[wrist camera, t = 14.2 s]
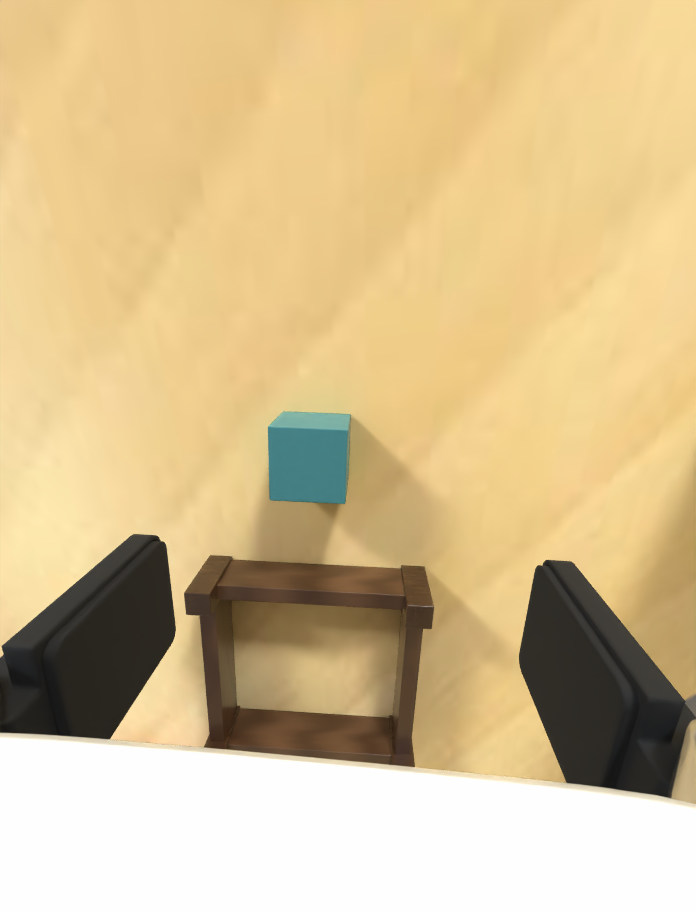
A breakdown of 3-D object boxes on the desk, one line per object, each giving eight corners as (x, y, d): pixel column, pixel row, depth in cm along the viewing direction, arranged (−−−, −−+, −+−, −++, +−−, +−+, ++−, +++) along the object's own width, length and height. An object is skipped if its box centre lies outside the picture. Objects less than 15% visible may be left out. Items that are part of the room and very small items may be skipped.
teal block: (350, 414, 30) (347, 429, 25) (348, 478, 31) (345, 504, 26) (282, 411, 30) (267, 426, 25) (283, 475, 31) (269, 500, 27)
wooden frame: (424, 566, 33) (434, 606, 28) (408, 731, 38) (413, 790, 33) (209, 554, 33) (183, 592, 29) (221, 719, 38) (201, 775, 34)
